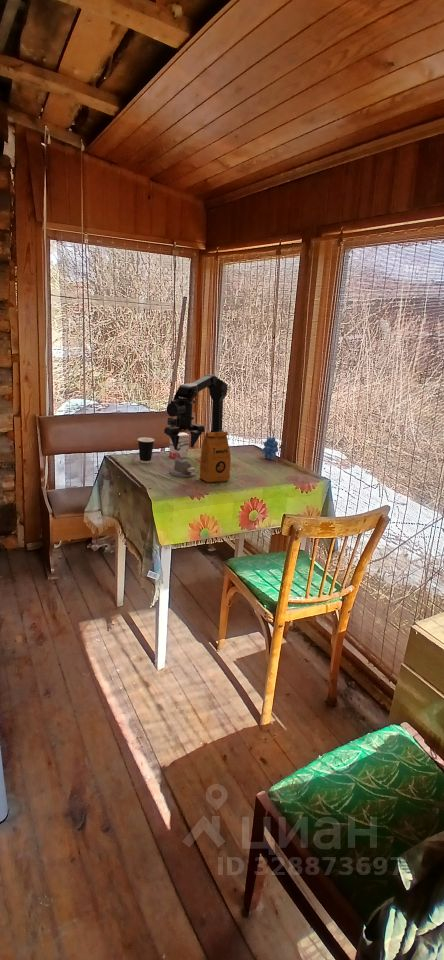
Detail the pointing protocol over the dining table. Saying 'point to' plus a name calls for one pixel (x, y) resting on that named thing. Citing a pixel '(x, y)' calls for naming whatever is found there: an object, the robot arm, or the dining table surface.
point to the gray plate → (178, 474)
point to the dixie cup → (145, 449)
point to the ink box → (180, 446)
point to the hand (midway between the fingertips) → (183, 448)
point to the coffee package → (215, 457)
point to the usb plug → (183, 466)
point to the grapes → (270, 448)
